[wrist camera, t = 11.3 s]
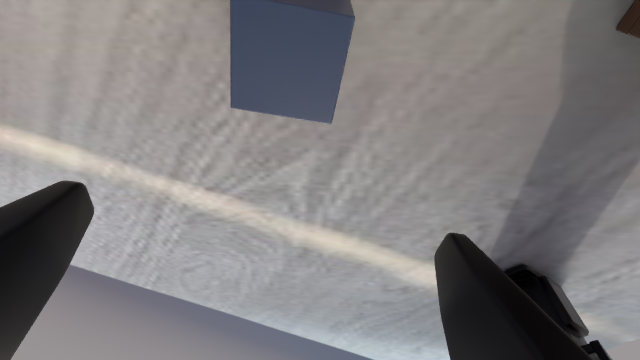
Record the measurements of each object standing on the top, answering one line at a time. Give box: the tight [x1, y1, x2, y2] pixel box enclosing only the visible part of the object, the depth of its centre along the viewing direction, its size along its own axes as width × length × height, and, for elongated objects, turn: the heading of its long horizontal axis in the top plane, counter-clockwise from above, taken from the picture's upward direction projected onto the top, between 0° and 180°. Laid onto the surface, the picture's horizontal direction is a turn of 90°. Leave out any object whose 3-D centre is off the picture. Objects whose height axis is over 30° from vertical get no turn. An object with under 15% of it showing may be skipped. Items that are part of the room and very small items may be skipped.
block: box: [230, 0, 355, 124], centre depth 14 cm, size 4×4×4 cm
